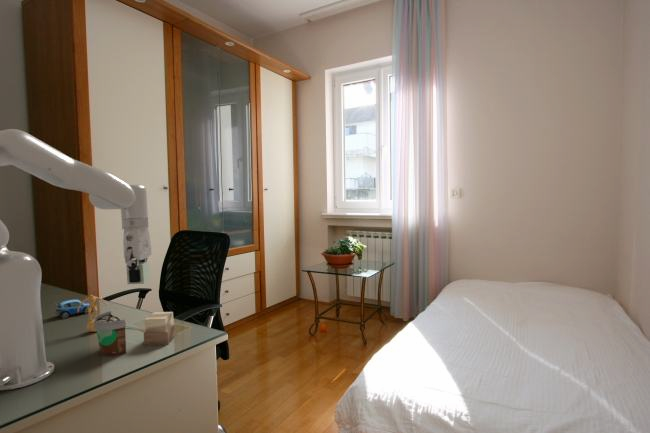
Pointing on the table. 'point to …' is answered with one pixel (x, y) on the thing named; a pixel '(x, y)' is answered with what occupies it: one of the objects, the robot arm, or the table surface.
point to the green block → (141, 273)
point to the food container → (110, 334)
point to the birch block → (159, 322)
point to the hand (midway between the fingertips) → (138, 279)
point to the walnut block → (160, 337)
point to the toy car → (71, 308)
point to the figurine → (91, 301)
